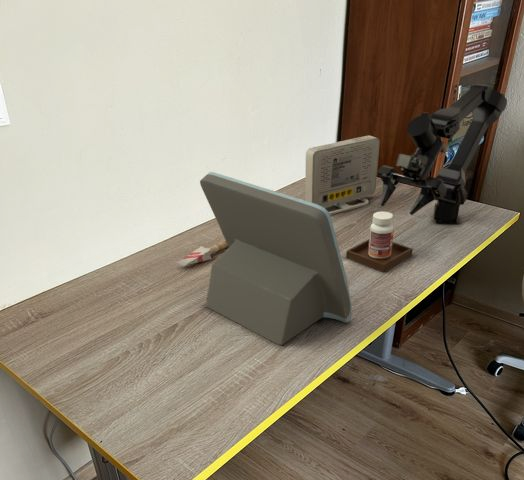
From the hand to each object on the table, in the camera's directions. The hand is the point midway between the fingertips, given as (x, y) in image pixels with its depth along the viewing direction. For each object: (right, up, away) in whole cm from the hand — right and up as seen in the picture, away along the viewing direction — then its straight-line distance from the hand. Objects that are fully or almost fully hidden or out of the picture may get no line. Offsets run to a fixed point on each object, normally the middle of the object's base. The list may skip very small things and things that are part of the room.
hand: (395, 209), depth 148 cm
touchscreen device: (-34, -28, -16) cm, 47 cm away
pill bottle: (-4, -12, +3) cm, 13 cm away
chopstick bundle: (-51, -11, +7) cm, 53 cm away
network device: (-10, +10, +35) cm, 37 cm away
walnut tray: (-4, -12, +4) cm, 13 cm away
